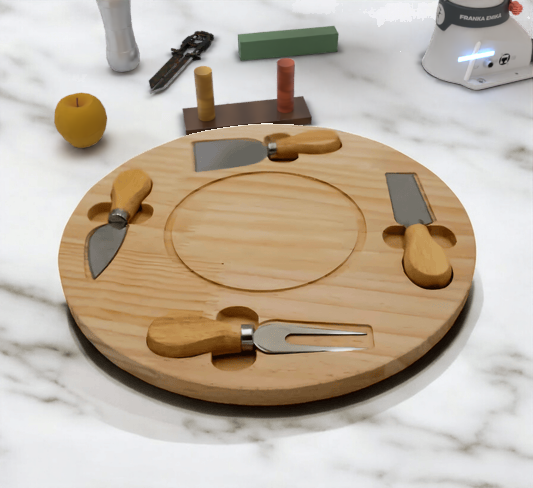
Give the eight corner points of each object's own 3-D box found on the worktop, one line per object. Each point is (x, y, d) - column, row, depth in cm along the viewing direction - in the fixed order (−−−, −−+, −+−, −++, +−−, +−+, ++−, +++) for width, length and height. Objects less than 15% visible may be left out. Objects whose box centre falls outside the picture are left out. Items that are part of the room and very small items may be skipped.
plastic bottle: (102, 72, 128) (81, -30, 115) (120, 56, 133) (102, -44, 119) (130, 78, 127) (112, -25, 113) (148, 62, 131) (132, -39, 117)
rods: (303, 103, 120) (304, 50, 112) (311, 124, 115) (313, 70, 107) (183, 115, 117) (177, 62, 110) (186, 137, 112) (180, 83, 105)
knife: (157, 98, 121) (156, 92, 120) (128, 90, 123) (127, 84, 122) (222, 40, 138) (221, 34, 137) (195, 34, 140) (194, 28, 139)
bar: (333, 43, 136) (334, 25, 133) (337, 51, 133) (338, 33, 131) (238, 52, 134) (237, 34, 131) (240, 60, 131) (240, 42, 128)
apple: (87, 164, 107) (75, 118, 101) (50, 148, 110) (36, 103, 104) (121, 138, 112) (112, 93, 106) (85, 124, 115) (74, 79, 109)
